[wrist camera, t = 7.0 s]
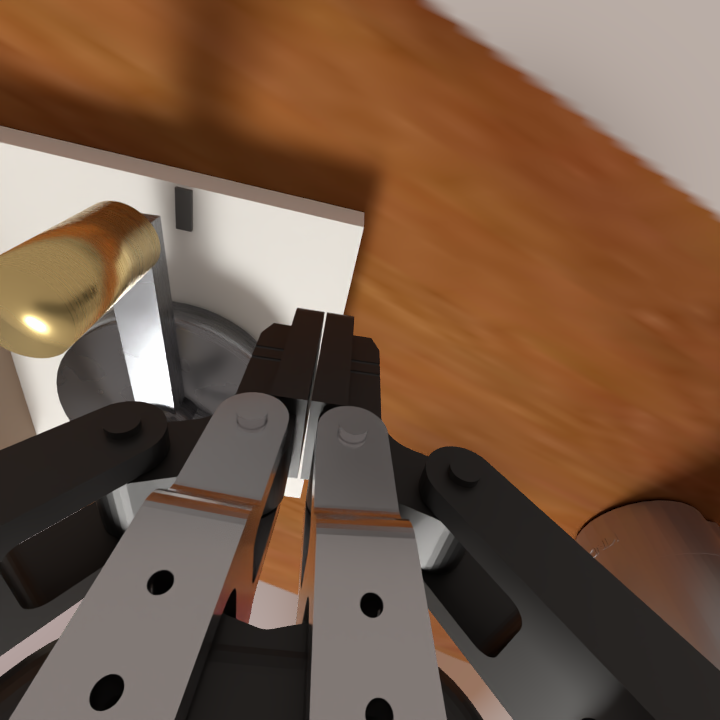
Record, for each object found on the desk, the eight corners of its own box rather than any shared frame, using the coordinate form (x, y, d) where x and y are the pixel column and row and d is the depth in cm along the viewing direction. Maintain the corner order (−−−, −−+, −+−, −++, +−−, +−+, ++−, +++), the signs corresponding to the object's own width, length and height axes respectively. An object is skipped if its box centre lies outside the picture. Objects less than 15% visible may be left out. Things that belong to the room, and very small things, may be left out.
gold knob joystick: (280, 463, 25) (248, 612, 18) (105, 444, 24) (4, 593, 17) (292, 197, 16) (238, 297, 9) (15, 156, 15) (-260, 232, 9)
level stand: (364, 212, 18) (363, 261, 14) (303, 473, 29) (292, 548, 24) (-146, 91, 16) (-341, 103, 12) (-13, 422, 26) (-89, 496, 22)
